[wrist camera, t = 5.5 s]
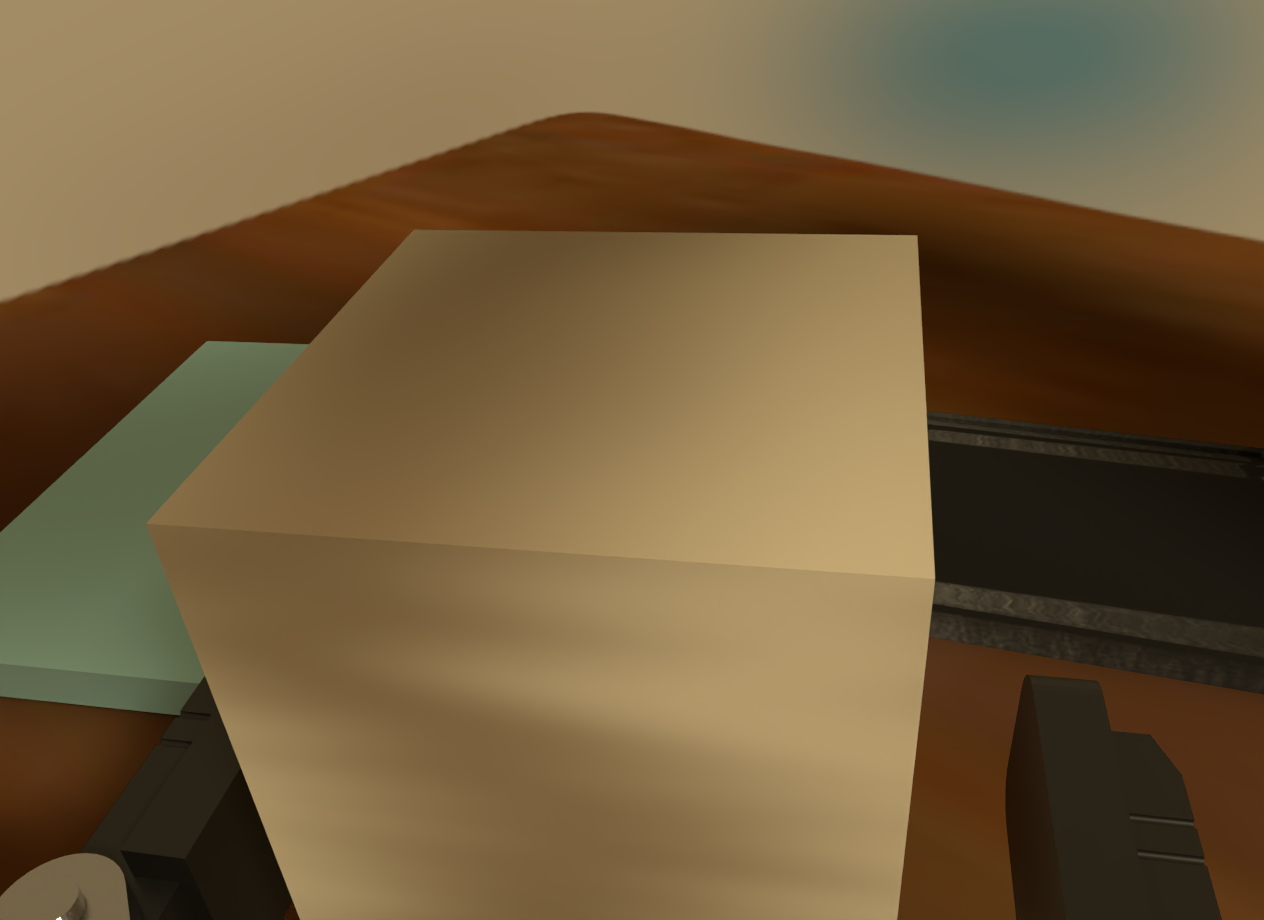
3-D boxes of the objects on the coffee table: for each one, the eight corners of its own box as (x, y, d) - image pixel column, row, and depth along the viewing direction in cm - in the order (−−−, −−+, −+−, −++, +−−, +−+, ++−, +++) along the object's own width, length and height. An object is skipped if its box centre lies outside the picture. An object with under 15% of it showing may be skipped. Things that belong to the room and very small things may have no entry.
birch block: (857, 971, 17) (917, 235, 10) (846, 1369, 13) (936, 580, 6) (544, 927, 18) (412, 229, 11) (442, 1284, 14) (145, 522, 7)
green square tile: (646, 385, 32) (644, 355, 32) (514, 751, 21) (507, 714, 20) (215, 368, 35) (207, 340, 34) (-107, 684, 24) (-128, 650, 23)
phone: (1393, 686, 20) (618, 556, 25) (1374, 728, 21) (621, 594, 25) (1322, 452, 26) (712, 383, 31) (1309, 491, 27) (713, 418, 31)
